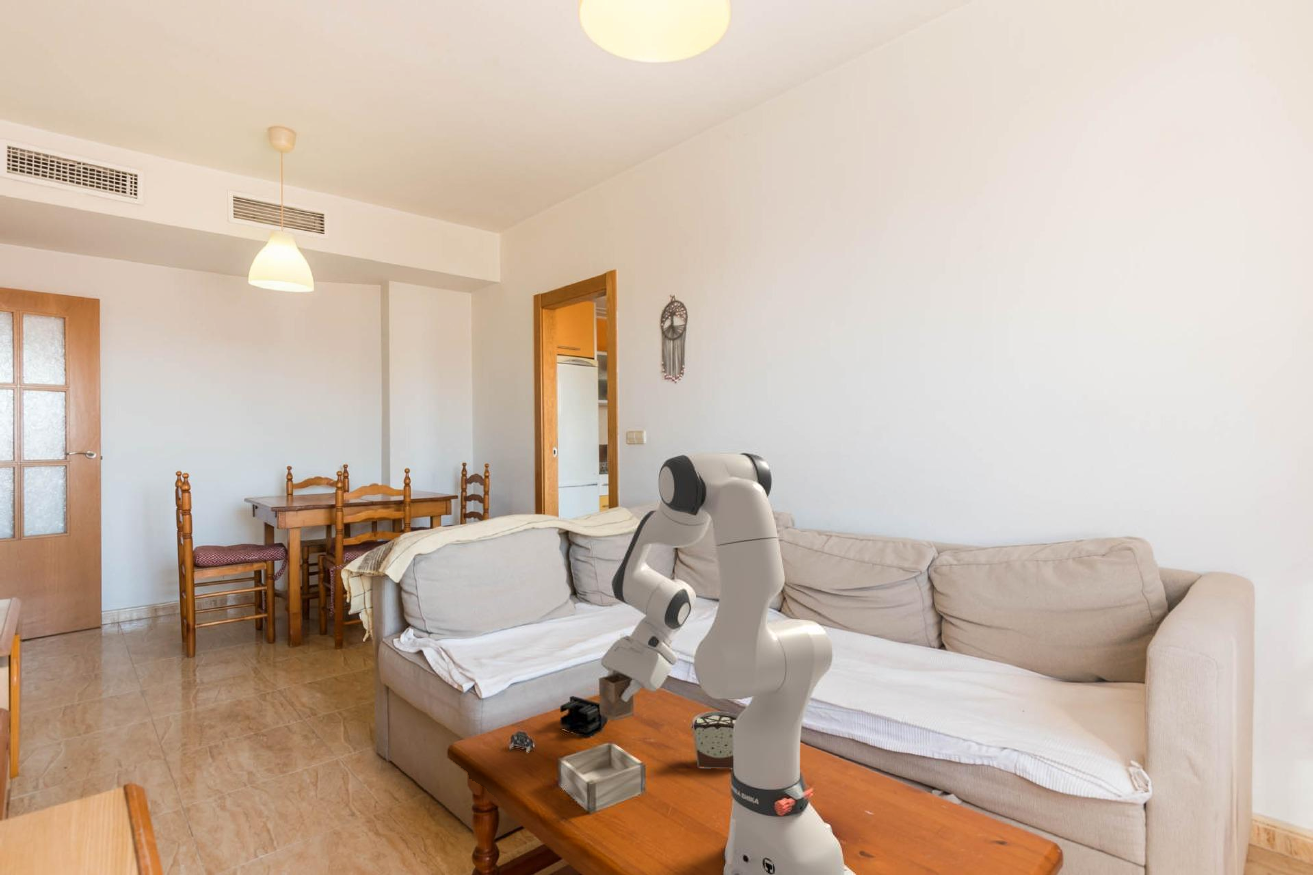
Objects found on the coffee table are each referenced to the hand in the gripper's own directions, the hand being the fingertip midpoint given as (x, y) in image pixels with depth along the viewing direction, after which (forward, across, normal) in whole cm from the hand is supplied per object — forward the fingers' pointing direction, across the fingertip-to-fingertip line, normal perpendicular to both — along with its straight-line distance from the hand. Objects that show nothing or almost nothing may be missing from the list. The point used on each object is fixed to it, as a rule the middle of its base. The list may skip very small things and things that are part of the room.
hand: (613, 695), depth 149 cm
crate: (+17, +10, +3) cm, 20 cm away
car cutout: (+19, -12, 0) cm, 23 cm away
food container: (-2, +16, +22) cm, 27 cm away
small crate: (+3, 0, +4) cm, 4 cm away
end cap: (+8, -17, +11) cm, 22 cm away
